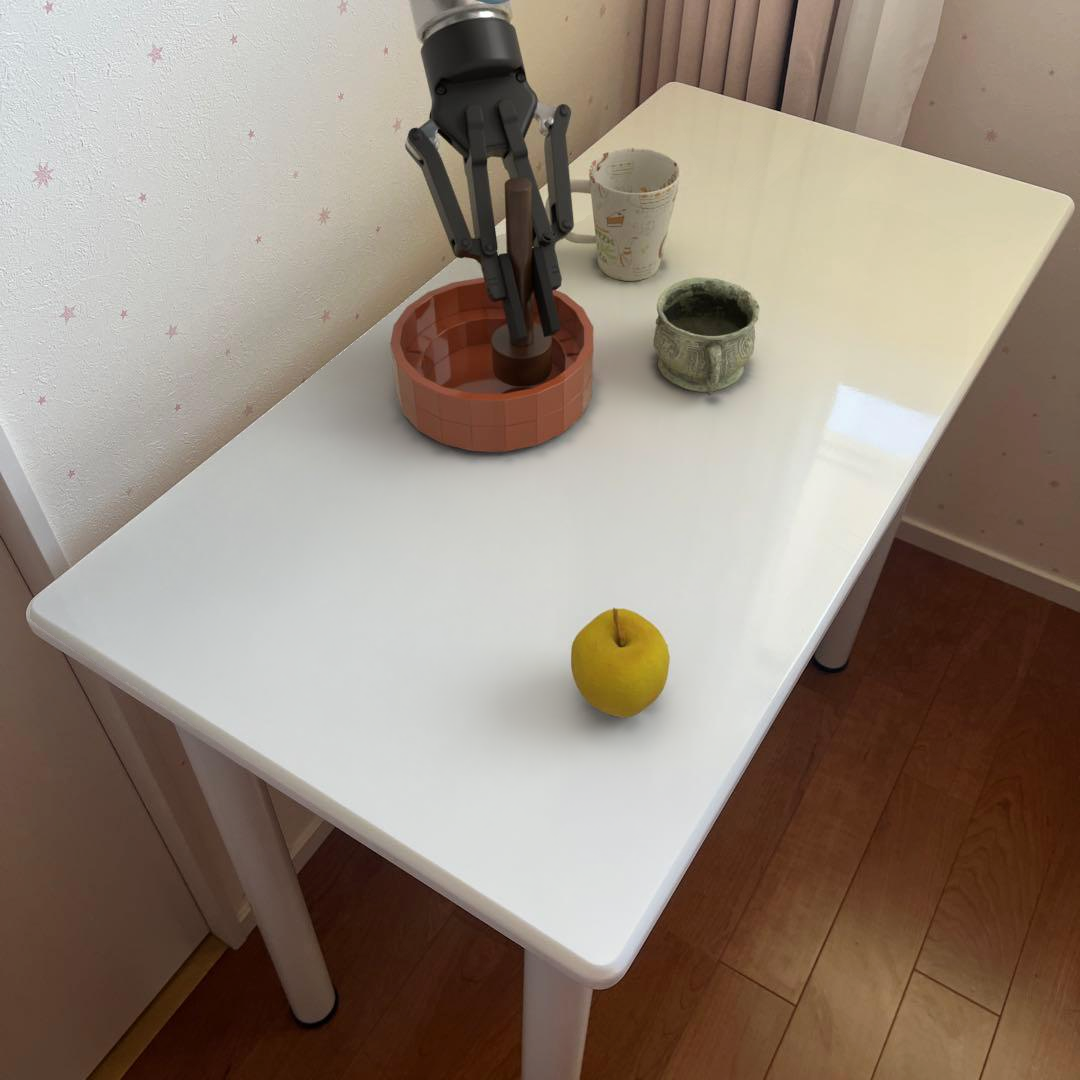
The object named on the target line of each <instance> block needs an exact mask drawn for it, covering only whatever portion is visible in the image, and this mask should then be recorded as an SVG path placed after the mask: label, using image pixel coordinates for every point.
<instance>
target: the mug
mask: <svg viewBox="0 0 1080 1080" xmlns="http://www.w3.org/2000/svg"><path fill="white" fill-rule="evenodd" d="M588 173H589V175H588V179H581V178H580V179H579V178H577V179H576V178H575V179H574V178H573V179H570V187H571V194H572V193H573V194H574V193H578V194H579V193H580V194H589V195H590V199H591V206H592V216H593V225H594V234H595V235H591V234H582V233H581V234H579V233H574V232H572V230H571V231H570V233H569V234H568V235H567V236H566V237H565V238H564V240H566V241H568V242H571V243H574V244H580V245H581V244H582V245H584V244H585V245H591V244H592V245H593V244H596V245H595V246H596V255H597V262H598V267H599V269H600V270H601V271H602V272H603V273H604V274H605V275H607V276H608V277H610V278H612V279H615V280H617V281H624V282H625V281H626V282H637V281H642V280H645V279H648V278H650V277H652V276H654V275H655V274H656V273H657V272H658V270H659V269H660V265H661V262H662V259H663V253H664V249H665V245H666V240H667V237H668V233H669V228H670V223H671V220H672V215H673V211H674V207H675V203H676V198H677V194H678V191H679V185H680V182H681V181H680V180H681V169H680V166H679V164H678V163H677V162H676V161H675V160H674V159H673V158H672V157H670V156H669V155H667V154H664V153H662V152H660V151H657V150H653V149H648V148H643V147H642V148H641V147H625V148H618V149H613V150H610V151H606V152H604V153H602V154H600V155H599V156H598V157H596V158H595V159H594V160H593V161H592V162H591V164H590V166H589V171H588ZM544 207H545V210H546V213H547V216H548V219H549V222H550V225H551V218H550V208H549V197H548V196H547V198H546V200H545V204H544Z"/></svg>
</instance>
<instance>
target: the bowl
mask: <svg viewBox="0 0 1080 1080" xmlns="http://www.w3.org/2000/svg"><path fill="white" fill-rule="evenodd" d="M552 292H553V296H554V300H555V305H556V309H557V313H558V318H559V322H560V326H561V330H560V331H558V332H557V333H555V334H554V335H552V336H551V337H552V371H551V373H550V375H549V376H548V377H547V378H546V379H545V380H544V381H542V382H541V383H538V384H536V385H532V386H526V387H517V386H511V385H508V384H505V383H503V382H501V381H500V380H499V379H498V378H497V377H496V376H495V375H494V372H493V364H492V343H491V339H492V336H493V334H494V332H495V331H496V330H497V329H498V328H500V327H501V326H503V325H505V324H507V321H506V317H505V312H504V308H503V304H502V300H501V301H496V302H491V300H490V299H489V297H488V295H487V290H486V286H485V282H484V277H483V276H482V277H475V278H471V279H464V280H460V281H454V282H451V283H447V284H444V285H443V286H440V287H438V288H437V287H436V288H435V289H431V290H429V291H427V292H426V293H424V294H423V295H421V296H420V297H418V298H417V299H416V300H414V301H413V302H411V303H410V304H409V305H407V306H406V307H405V309H404V310H403V311H402V312H401V314H400V315H399V317H398V318H397V319H396V321H394V324H393V327H392V331H391V332H392V333H391V337H390V341H389V343H390V344H389V345H390V352H391V353H390V354H391V361H392V368H393V369H392V370H393V377H394V384H395V392H396V396H397V400H398V404H399V406H400V409H401V413H402V414H403V416H404V417H405V418H406V420H408V421H409V422H410V423H411V424H412V425H413V426H414V428H415V429H416V430H417V431H418V432H420V433H422V434H424V435H425V436H428V437H430V438H431V439H433V440H434V441H437V442H439V443H441V444H443V445H446V446H450V447H454V448H459V449H463V450H466V451H471V452H501V453H502V452H503V453H504V452H510V451H514V450H520V449H525V448H530V447H534V446H538V445H540V444H543V443H545V442H547V441H549V440H551V439H553V438H556V437H558V436H560V435H562V434H564V433H565V432H566V431H567V430H568V429H569V428H570V427H572V426H573V425H575V423H576V422H577V421H578V420H580V418H582V416H583V415H584V413H585V410H586V408H587V407H588V405H589V402H590V401H591V399H592V394H593V393H592V392H593V369H594V346H595V345H594V326H593V323H592V322H591V320H590V318H589V316H588V315H587V312H586V311H585V308H583V307H582V306H581V305H579V304H578V303H577V302H576V301H575V300H573V298H571V297H570V296H569V295H567V294H566V293H564V292H561V291H560V290H558V289H557V290H552ZM533 318H534V323H536V324H539V325H541V321H540V317H539V313H538V308H537V304H536V300H535V295H534V291H533Z"/></svg>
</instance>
